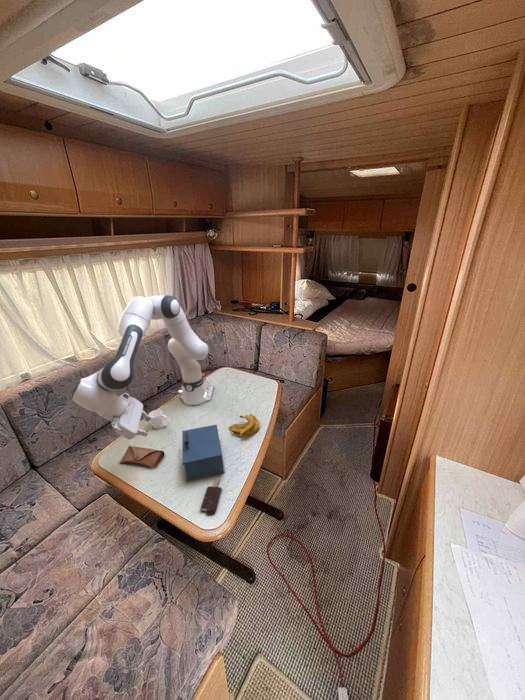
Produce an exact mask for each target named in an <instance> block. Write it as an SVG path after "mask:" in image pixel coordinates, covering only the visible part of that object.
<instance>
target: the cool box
mask: <svg viewBox="0 0 525 700" xmlns="http://www.w3.org/2000/svg"><path fill="white" fill-rule="evenodd" d="M223 461H224V460H223V455H222V456H220V457H216V458H211V459H207V460H202V461H198V462H193V463H188V464H184V468H185V473H186V479H187V481H188V482H189V481H193V480H198V479H202V478H205V477H210V476H214V475H218V474H223V473H225V469H224V462H223Z"/></svg>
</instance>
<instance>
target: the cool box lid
mask: <svg viewBox="0 0 525 700" xmlns="http://www.w3.org/2000/svg"><path fill="white" fill-rule="evenodd" d="M181 433H182V434H181V437H182V439H181V442H182V443H181V446H182V447H181V452H182V453H181V457H182V458H181V459H182V461H181V463H182V465H183V466H185V464H188V463H193V462H198V461H202V460H207V459H211V458H216V457H220V456H222V457H223V453H222V452H223V451H222V448H221V442H220V436H219V429H218V425H217V424H212V425H211V424H210V425H207V426H202V427H197V428H196V427H195V428H190V429H186V430H185V429H184V430H182V431H181Z"/></svg>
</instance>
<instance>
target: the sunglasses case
mask: <svg viewBox="0 0 525 700" xmlns="http://www.w3.org/2000/svg"><path fill="white" fill-rule="evenodd" d="M164 458H165V451H164V450H160V449H154V448H148V447H141V446H133V445H128V446H127V448H126V451H125V453H124V455H123V457H122V459H121V460H120V462H119V463H120V464H129V465H135V466H140V467H145V468H149V469H156V467H158V465H159V464H161V462H162V461H163V460H164Z"/></svg>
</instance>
